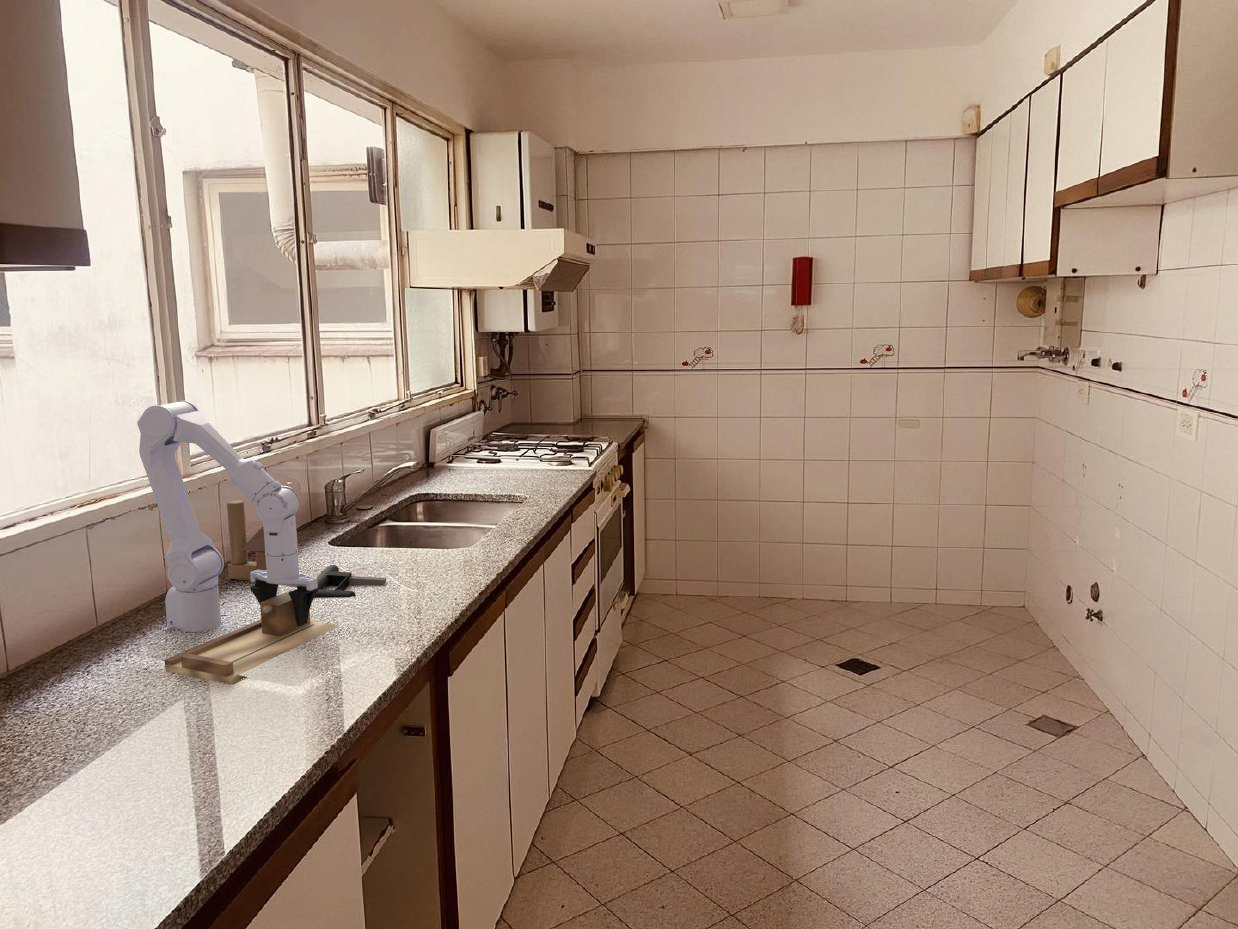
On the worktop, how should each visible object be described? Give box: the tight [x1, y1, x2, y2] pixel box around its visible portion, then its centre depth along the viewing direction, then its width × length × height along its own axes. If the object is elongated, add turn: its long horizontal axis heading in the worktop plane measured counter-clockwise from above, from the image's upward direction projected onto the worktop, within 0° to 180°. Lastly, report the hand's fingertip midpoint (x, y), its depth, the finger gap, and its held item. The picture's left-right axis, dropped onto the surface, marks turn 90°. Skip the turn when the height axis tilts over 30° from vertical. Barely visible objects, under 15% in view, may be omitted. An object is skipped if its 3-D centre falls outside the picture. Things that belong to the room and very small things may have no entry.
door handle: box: [314, 564, 387, 599], centre depth 202 cm, size 3×20×16 cm
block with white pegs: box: [259, 590, 311, 637], centre depth 173 cm, size 4×10×6 cm, turn 157°
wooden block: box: [226, 499, 267, 582], centre depth 208 cm, size 4×11×18 cm, turn 79°
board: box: [164, 618, 340, 685], centre depth 166 cm, size 15×27×3 cm, turn 157°
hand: (286, 621), depth 174 cm, fingers open, 7 cm apart
